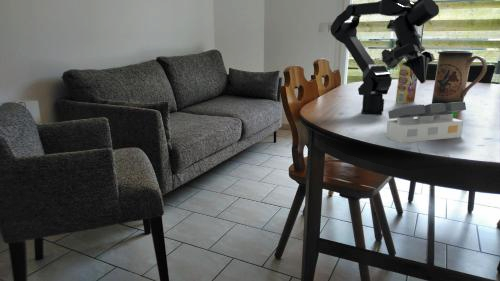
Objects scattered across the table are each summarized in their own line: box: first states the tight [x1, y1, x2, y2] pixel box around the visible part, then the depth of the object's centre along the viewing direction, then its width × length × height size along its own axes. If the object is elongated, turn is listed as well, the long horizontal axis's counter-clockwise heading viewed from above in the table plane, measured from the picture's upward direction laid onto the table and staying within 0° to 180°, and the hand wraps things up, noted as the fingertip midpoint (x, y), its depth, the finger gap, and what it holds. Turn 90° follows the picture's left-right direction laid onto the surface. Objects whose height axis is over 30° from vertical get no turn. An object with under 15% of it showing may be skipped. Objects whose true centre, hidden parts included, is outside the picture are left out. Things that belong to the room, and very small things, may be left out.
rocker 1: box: [388, 103, 425, 120], centre depth 91 cm, size 8×4×2 cm, turn 14°
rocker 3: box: [431, 101, 467, 116], centre depth 94 cm, size 8×4×2 cm, turn 14°
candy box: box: [395, 63, 418, 105], centre depth 144 cm, size 9×4×15 cm, turn 134°
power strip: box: [385, 113, 464, 144], centre depth 94 cm, size 6×18×6 cm, turn 105°
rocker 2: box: [412, 102, 446, 118], centre depth 93 cm, size 8×4×2 cm, turn 14°
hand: (423, 82), depth 107 cm, fingers closed
